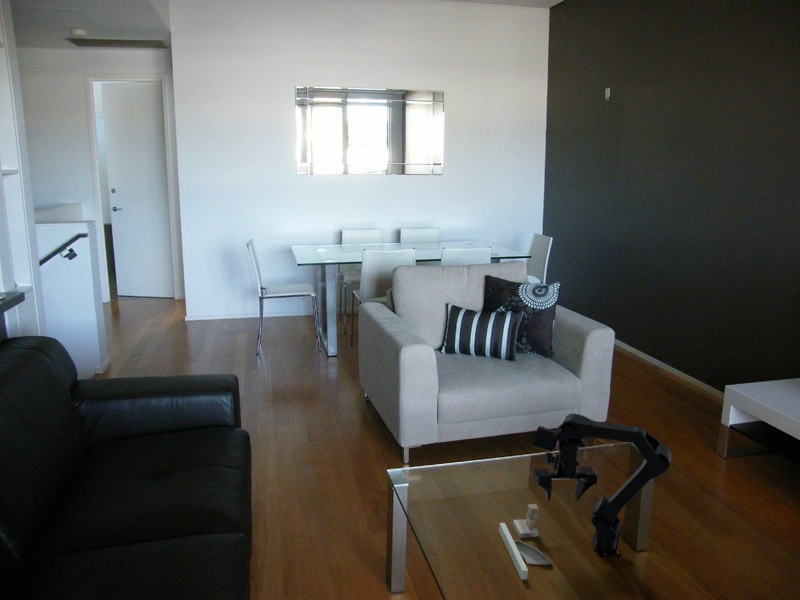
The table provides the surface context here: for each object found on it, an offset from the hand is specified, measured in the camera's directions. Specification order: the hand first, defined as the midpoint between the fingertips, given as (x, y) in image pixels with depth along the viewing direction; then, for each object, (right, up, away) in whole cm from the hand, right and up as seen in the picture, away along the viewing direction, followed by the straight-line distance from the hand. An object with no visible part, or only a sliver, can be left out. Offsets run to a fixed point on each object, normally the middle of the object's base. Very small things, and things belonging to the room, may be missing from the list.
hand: (562, 500), depth 201 cm
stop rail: (-17, -14, -7) cm, 23 cm away
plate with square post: (-10, -11, +5) cm, 16 cm away
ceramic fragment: (-11, -15, -7) cm, 20 cm away
